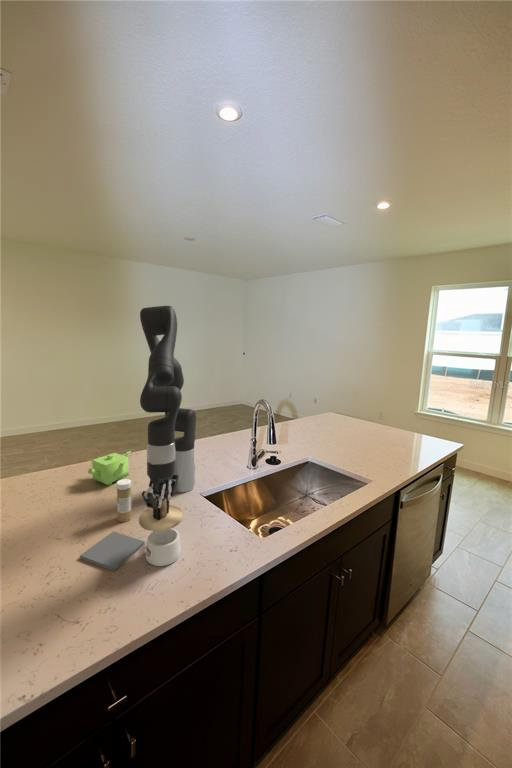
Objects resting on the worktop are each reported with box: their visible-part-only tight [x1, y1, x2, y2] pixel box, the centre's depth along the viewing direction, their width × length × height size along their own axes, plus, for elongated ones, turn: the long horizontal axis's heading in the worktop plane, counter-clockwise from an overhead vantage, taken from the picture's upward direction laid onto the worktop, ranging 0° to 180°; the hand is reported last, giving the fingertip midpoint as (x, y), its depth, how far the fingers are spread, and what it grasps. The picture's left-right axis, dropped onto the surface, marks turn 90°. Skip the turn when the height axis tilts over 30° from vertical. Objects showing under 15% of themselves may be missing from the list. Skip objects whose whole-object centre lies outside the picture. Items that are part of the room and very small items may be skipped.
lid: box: [138, 497, 184, 532], centre depth 90 cm, size 12×12×6 cm
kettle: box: [87, 450, 132, 486], centre depth 134 cm, size 15×14×11 cm
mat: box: [79, 530, 145, 572], centre depth 92 cm, size 12×12×1 cm
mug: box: [145, 528, 182, 567], centre depth 91 cm, size 12×10×6 cm
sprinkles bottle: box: [115, 478, 132, 523], centre depth 107 cm, size 5×5×13 cm
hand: (161, 515), depth 90 cm, fingers closed on lid, 2 cm apart
